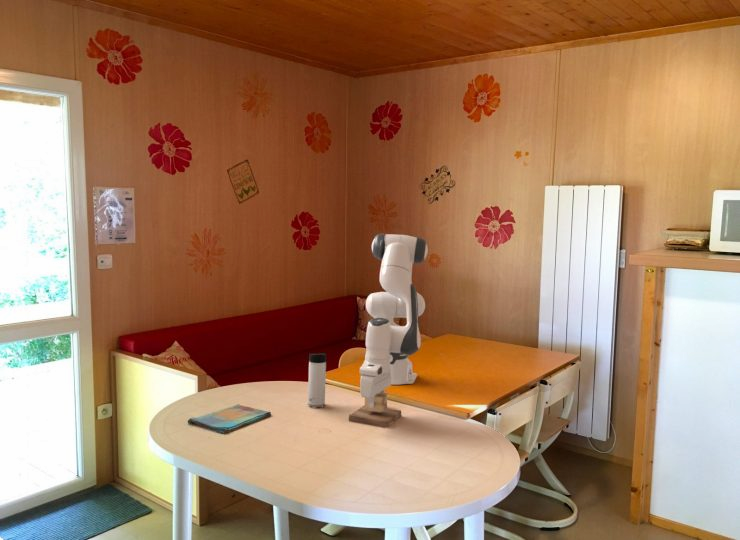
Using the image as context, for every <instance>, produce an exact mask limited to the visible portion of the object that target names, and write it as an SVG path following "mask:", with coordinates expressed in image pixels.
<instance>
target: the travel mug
mask: <svg viewBox="0 0 740 540" xmlns="http://www.w3.org/2000/svg"><path fill="white" fill-rule="evenodd" d="M308 355H309V358H308V359H309V360H308V383H307V385H308V386H307V387H308V388H307V406H308V405H309V406H311V407H310V408H312V407H321V408H323V407H322V406H324V405H325V406H326V404H325V403H326V375H327V374H326V372H327V371H326V370H327V354H326V353H320V352H319V353H309V354H308ZM309 406H308V407H309ZM325 406H324V407H325Z"/></svg>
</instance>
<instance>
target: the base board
mask: <svg viewBox="0 0 740 540" xmlns="http://www.w3.org/2000/svg"><path fill="white" fill-rule="evenodd" d="M399 416H401V417H402V410H401V409H394V408H388V407H387V408H386V409H385V410H383V411H382V412H375V411H369V410H365V404H364V405H362V406H361V407H360V408H358V409H356V410H355V411H354V412H352V413H350V414H349V415H348V422H350V423H351V422H353V423H356V424H357V423H358V424H364V425H369V426H374V425H375V427H380V426H381V427H382V428H385V427H387V428H388V427H390V426H391V425H392V424H393V423H394V422H395V420H396V419H397V418H398V417H399ZM399 418H400V417H399ZM399 418H398V419H399ZM398 419H397V420H398ZM397 420H396V421H397ZM393 421H394V422H393ZM392 422H393V423H392ZM391 423H392V424H391ZM390 424H391V425H390ZM381 427H380V428H381Z"/></svg>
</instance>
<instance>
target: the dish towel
mask: <svg viewBox="0 0 740 540" xmlns="http://www.w3.org/2000/svg"><path fill="white" fill-rule="evenodd" d="M271 416H272V413H271V411H266V410H262V409H259V408H254V407H250V406H246V405H241V404H239V403H238V404H235V405H233V406H228V407H226V408H223V409H219V410H215V411H212V412H209V413H206V414H203V415H200V416H196V417H190V418H189V419H188V420H187V424H188V425H192V426H195V427H198V428H202V429H203V430H204V429H205V430H208V431H210V432H214V433H218V434H221V435H222V434H223V435H224V434H228V433H231V432H234V431H236V430H237V429H241V428H243V427H245V426H247V425H250V424H253V423H255V422H258V421H261V420H263V419H266V418H268V417H271Z"/></svg>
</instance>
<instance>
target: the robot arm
mask: <svg viewBox="0 0 740 540" xmlns="http://www.w3.org/2000/svg"><path fill="white" fill-rule="evenodd" d="M428 250H429V249H428V244H427V241H426V240H425V238H422V237H418V236H417V237H416V236H411V235H407V234H393V233H391V234H388V233H378V234H376V235H375V236H374V239H373V240H372V242H371V252H372V255H373V257H374V258H375V259H377V260H380V261H381V264H380V270H379V284H380V286H381V287H382V289H383V290H384V291H379V292H378V291H377V292H373V293H372V292H371V293H370V294H369V295H368V296H367V298H366V299H365V309H366V311H367V313H368V314H369V315H370V316H371V317H372V318H371V319H370V320H369V321H368V323H367V327H366V333H365V347H366V348H365V349H366V351H365V356H364V360H363V363H362V365H361V366H360V367H359V374H360V375H361V376H360V380H359V382H360V383H359V384H360V386H359V387H360V389H359V390H360V391H359V392H360V396H361V397H362V398H364V399H365V398H368V401H369V407H371V408H373V407H375V402H374V398H375V395H376V394H378V393H385V394H386V389H387V388H388V387H390V386H393V385H396V386H397V385H398V386H399V385H407V384H408V385H409V384H410V385H412V384H414V383H415V382H416V379H417V377H418V374H417V373H415V372H413V363H412V362H411V360H410V359H409V358H408V357H409V356H412V355H414V354H415V353H417V352H418V351H419V350H420V349H421V344H422V343H421V341H422V339H421V332H420V325H419V324H420V322H419V317H421V316H422V315H423V314H424V311H425V309H426V301H425V299H424V297H423V295H421V294H420V293H418V292H417V290H416V286H415V285H414V284H413V283H412V277H413V276H412V274H413V264H414V265H415V264H416V265H417V264H421V263H423V262H424V261H425V260H426V258H427V255H428V252H429V251H428ZM394 318H395V319H396V318H400V319H402V318H404V319H405V318H406V325H399V324H397V323H396V322H394Z"/></svg>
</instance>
